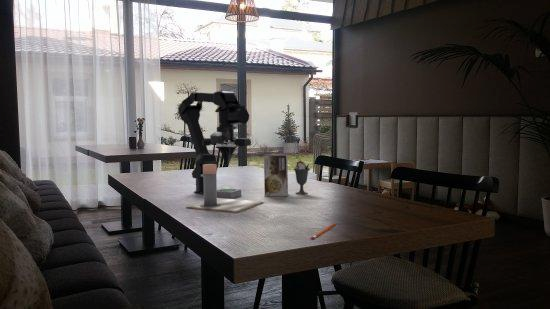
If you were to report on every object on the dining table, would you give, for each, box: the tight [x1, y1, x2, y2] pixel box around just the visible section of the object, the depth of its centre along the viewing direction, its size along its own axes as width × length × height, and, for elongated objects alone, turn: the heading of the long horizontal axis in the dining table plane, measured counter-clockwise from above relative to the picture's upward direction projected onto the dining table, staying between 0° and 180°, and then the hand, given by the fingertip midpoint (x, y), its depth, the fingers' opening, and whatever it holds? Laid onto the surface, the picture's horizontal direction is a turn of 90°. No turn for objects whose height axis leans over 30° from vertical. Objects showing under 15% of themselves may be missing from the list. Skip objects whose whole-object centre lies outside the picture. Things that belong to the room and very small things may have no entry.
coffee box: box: [263, 153, 289, 197], centre depth 178 cm, size 9×6×16 cm
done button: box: [221, 187, 234, 192], centre depth 175 cm, size 4×4×2 cm
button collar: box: [217, 188, 242, 199], centre depth 175 cm, size 8×8×2 cm
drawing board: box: [185, 198, 264, 214], centre depth 157 cm, size 20×19×1 cm
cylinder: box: [203, 164, 218, 207], centre depth 153 cm, size 5×5×14 cm
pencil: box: [310, 222, 337, 240], centre depth 121 cm, size 1×19×1 cm, turn 154°
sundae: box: [293, 156, 311, 196], centre depth 181 cm, size 7×7×15 cm
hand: (227, 164), depth 174 cm, fingers closed
